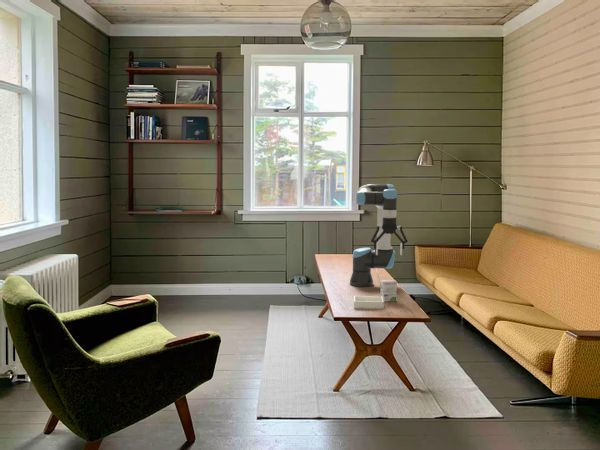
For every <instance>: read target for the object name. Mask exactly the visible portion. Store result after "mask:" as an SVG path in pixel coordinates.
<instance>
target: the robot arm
mask: <svg viewBox="0 0 600 450" xmlns="http://www.w3.org/2000/svg"><path fill="white" fill-rule="evenodd" d="M355 197H356V199H355V200H356V201H355V202H356V205H358V206H360V205H361V206H368V205H369V206H370V205H371V206H375V207H376V208H377V212H376V213H377V215H376V216H377V219H376V220H377V222H376V223H377V224H376V229H375V231H374V234H373V235H372V238H371V239H370V242H371V243H373V248H374V249H371V247H360V248H356V249H354V250H353V251H352V273H351V276H350V279H349V285H351V286H353V287H370V286H373V285H374V279H373V276H372V273H371V272H372V269H376V268H377V269H385V270H387V269H392V268H393V267H394V263H395V258H396V251H395V250H393V249H394V248H393V246H392V245H391V237H392V236H391V235H393V234H394V235H395V236H396V238H397V239H398V240H399V241H400V248H399V255H400V256H403V250H404V249H405V244H406V243H408V242H409V241H408V239H407V237H406V235H405V233H404V230H403V226H402V225H397V205H398V201H397V200H398V191H397V189H395V185H394V184H391V183H390V184H389V183H369V184H364V185H362V186H360V187H358V189H357V190H356V196H355ZM397 230H399V232H400V233H401V235H402V238H401V236H400V235H399V234H398V233H397Z"/></svg>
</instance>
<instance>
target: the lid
mask: <svg viewBox="0 0 600 450" xmlns="http://www.w3.org/2000/svg"><path fill="white" fill-rule="evenodd" d="M375 270H376V274H377V275H376V276H377V278H378V283H379V286H380V287H381V279H380V275H379V272H378V268H375ZM381 290H382V287H381ZM382 294H383V291H382ZM383 298H384V295H383ZM384 301H385V299H384Z"/></svg>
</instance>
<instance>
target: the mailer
mask: <svg viewBox="0 0 600 450" xmlns="http://www.w3.org/2000/svg"><path fill="white" fill-rule="evenodd" d="M353 309H362V310H363V309H364V310H365V309H369V310H370V309H371V310H377V309H378V310H384V309H385V302H384V300H383V297H382V296H379V295H378V296H377V295H375V296H374V295H373V296H372V295H370V296H368V295H353Z"/></svg>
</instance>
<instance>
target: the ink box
mask: <svg viewBox="0 0 600 450" xmlns="http://www.w3.org/2000/svg"><path fill="white" fill-rule="evenodd" d="M380 283H381V287H382V290H381V287H380V289H379V291H380V292H379V294H380V296H382V297H383V295H384V298H383V300H384V299H385V301H384V303H385V302H397V295H398V294H397V293H398V281H397V280H395V279H386V280H385V279H380ZM382 291H383V294H382Z"/></svg>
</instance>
